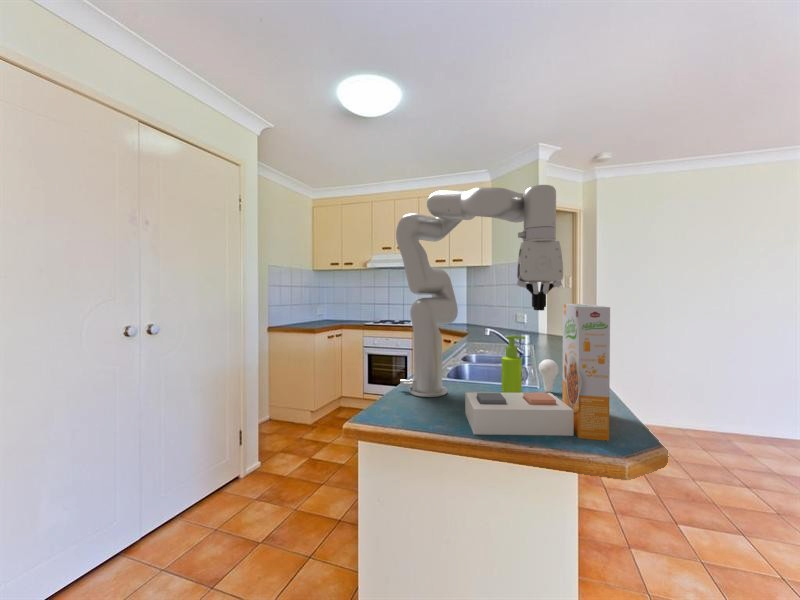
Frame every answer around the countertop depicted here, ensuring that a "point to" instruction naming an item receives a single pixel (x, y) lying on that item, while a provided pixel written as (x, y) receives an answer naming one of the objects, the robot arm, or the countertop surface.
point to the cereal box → (587, 368)
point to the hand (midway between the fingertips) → (538, 310)
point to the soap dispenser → (512, 368)
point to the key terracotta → (539, 399)
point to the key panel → (518, 416)
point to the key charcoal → (491, 398)
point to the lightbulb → (548, 373)
